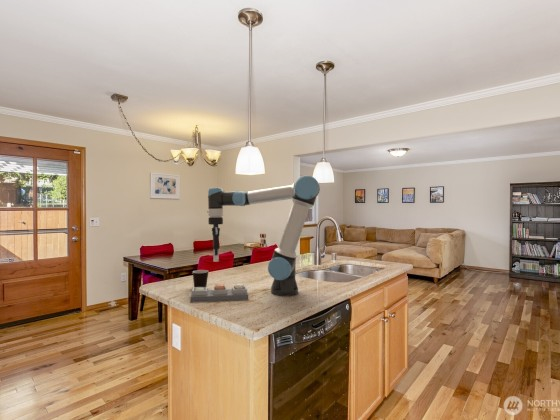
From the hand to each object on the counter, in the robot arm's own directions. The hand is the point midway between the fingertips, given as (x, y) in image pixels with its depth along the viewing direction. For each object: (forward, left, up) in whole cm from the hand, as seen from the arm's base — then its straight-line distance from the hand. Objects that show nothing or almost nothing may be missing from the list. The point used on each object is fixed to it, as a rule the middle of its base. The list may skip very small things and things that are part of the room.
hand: (216, 261), depth 165 cm
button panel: (-2, +6, -18) cm, 19 cm away
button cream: (-12, +6, -14) cm, 19 cm away
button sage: (+8, +6, -15) cm, 18 cm away
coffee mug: (+7, -13, -18) cm, 23 cm away
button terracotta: (-2, +6, -14) cm, 15 cm away
